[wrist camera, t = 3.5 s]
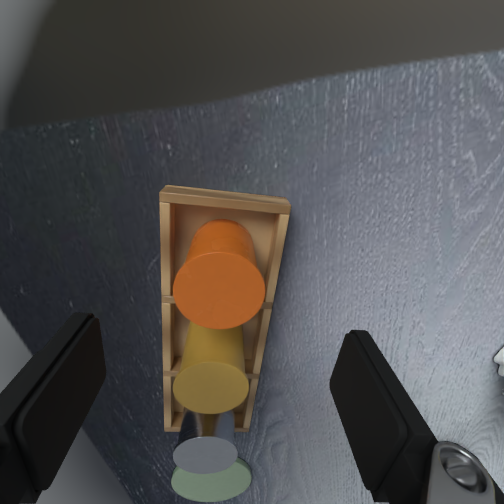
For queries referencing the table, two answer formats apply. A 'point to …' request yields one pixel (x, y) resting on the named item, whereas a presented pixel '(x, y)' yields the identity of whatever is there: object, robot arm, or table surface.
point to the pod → (220, 277)
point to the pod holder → (173, 257)
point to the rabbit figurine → (500, 362)
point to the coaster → (212, 483)
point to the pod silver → (206, 442)
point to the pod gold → (212, 370)
